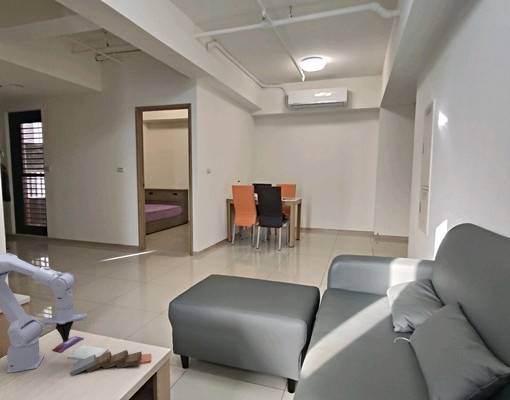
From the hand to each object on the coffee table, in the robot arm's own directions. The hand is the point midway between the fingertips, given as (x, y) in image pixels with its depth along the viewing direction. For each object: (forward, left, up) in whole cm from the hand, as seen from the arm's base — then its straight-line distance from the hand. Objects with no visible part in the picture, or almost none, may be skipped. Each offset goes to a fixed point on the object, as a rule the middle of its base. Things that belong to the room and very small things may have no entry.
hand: (65, 340), depth 117 cm
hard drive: (+7, +5, -11) cm, 14 cm away
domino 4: (+19, -6, -9) cm, 22 cm away
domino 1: (+3, -5, -9) cm, 11 cm away
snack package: (-3, +16, -11) cm, 19 cm away
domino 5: (+23, -5, -10) cm, 25 cm away
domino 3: (+14, -5, -9) cm, 17 cm away
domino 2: (+8, -5, -9) cm, 13 cm away
